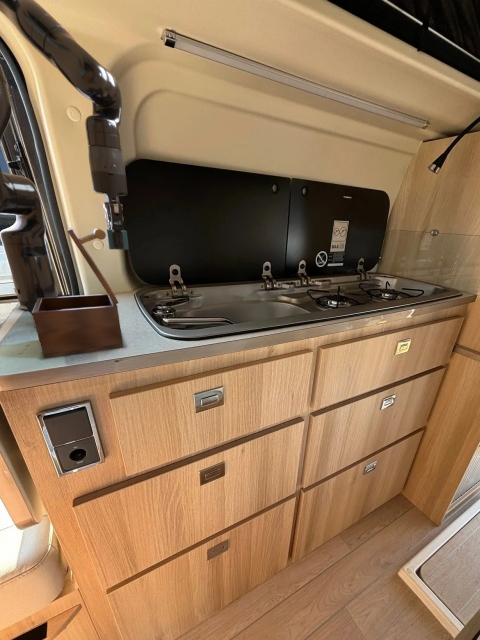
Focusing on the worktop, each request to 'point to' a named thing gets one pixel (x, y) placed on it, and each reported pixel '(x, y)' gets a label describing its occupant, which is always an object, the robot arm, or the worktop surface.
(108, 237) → the block
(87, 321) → the chest
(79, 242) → the lid
